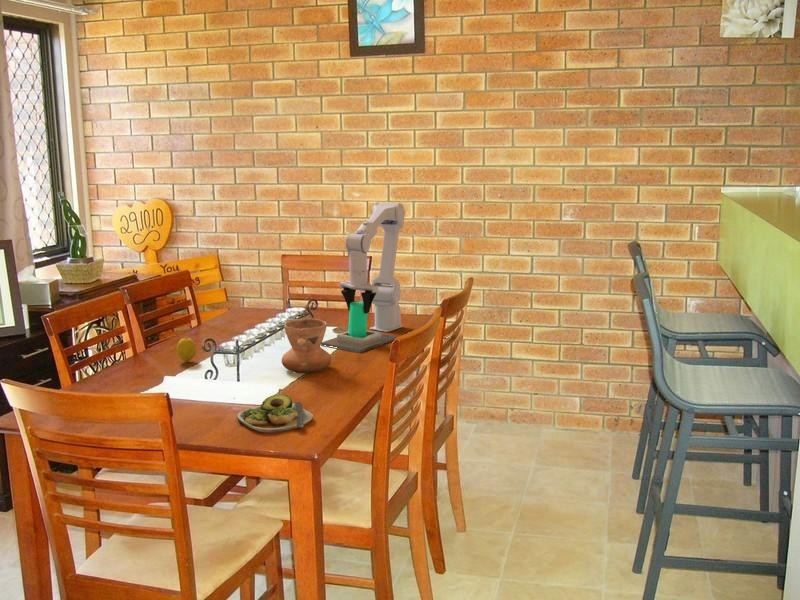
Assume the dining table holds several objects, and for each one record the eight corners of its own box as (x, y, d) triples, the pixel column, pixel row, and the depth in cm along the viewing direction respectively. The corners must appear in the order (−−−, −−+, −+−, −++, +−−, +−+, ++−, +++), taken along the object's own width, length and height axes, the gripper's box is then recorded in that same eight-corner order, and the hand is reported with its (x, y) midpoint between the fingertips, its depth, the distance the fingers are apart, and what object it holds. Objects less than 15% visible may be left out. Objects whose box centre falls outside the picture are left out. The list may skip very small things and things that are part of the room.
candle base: (358, 333, 294) (358, 324, 293) (396, 339, 285) (396, 330, 284) (321, 345, 278) (320, 336, 277) (360, 352, 269) (359, 343, 268)
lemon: (186, 358, 263) (185, 333, 261) (200, 361, 260) (198, 336, 259) (173, 363, 258) (172, 337, 257) (187, 365, 256) (185, 339, 254)
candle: (367, 332, 284) (370, 297, 281) (364, 337, 278) (366, 302, 275) (350, 330, 285) (352, 295, 282) (346, 335, 279) (348, 300, 276)
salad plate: (331, 426, 205) (331, 408, 204) (264, 442, 196) (263, 423, 195) (294, 405, 221) (293, 388, 220) (229, 418, 211) (229, 401, 210)
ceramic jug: (327, 378, 242) (326, 330, 240) (276, 378, 243) (274, 329, 240) (335, 361, 260) (334, 315, 257) (288, 360, 261) (287, 315, 258)
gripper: (333, 270, 277) (333, 311, 280) (368, 274, 269) (369, 316, 272) (346, 267, 283) (347, 307, 286) (382, 271, 275) (382, 312, 278)
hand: (358, 311), depth 279 cm, fingers closed on candle, 6 cm apart
